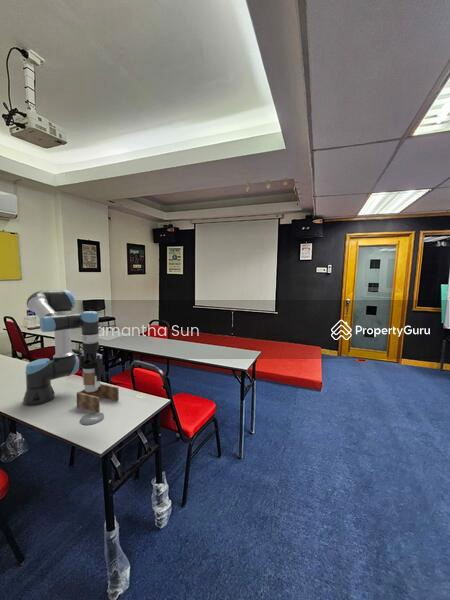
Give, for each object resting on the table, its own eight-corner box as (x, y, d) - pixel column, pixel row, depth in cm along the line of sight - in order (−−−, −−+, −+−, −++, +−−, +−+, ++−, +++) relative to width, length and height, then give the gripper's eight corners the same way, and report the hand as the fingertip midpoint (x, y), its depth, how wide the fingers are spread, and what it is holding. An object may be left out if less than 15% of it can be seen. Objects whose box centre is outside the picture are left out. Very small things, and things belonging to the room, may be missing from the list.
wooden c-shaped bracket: (76, 406, 146) (76, 392, 145) (98, 395, 160) (98, 382, 159) (98, 412, 140) (97, 398, 139) (118, 400, 154) (118, 387, 153)
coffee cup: (93, 394, 127) (92, 364, 126) (78, 392, 129) (77, 363, 128) (104, 387, 136) (103, 359, 134) (90, 385, 137) (89, 358, 136)
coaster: (75, 421, 131) (75, 420, 131) (93, 411, 141) (93, 410, 141) (91, 426, 127) (91, 425, 127) (108, 415, 137) (108, 414, 137)
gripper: (69, 341, 130) (70, 385, 132) (99, 346, 123) (100, 392, 125) (82, 338, 137) (83, 379, 139) (111, 342, 130) (112, 386, 132)
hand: (91, 385), depth 132 cm, fingers closed on coffee cup, 7 cm apart
